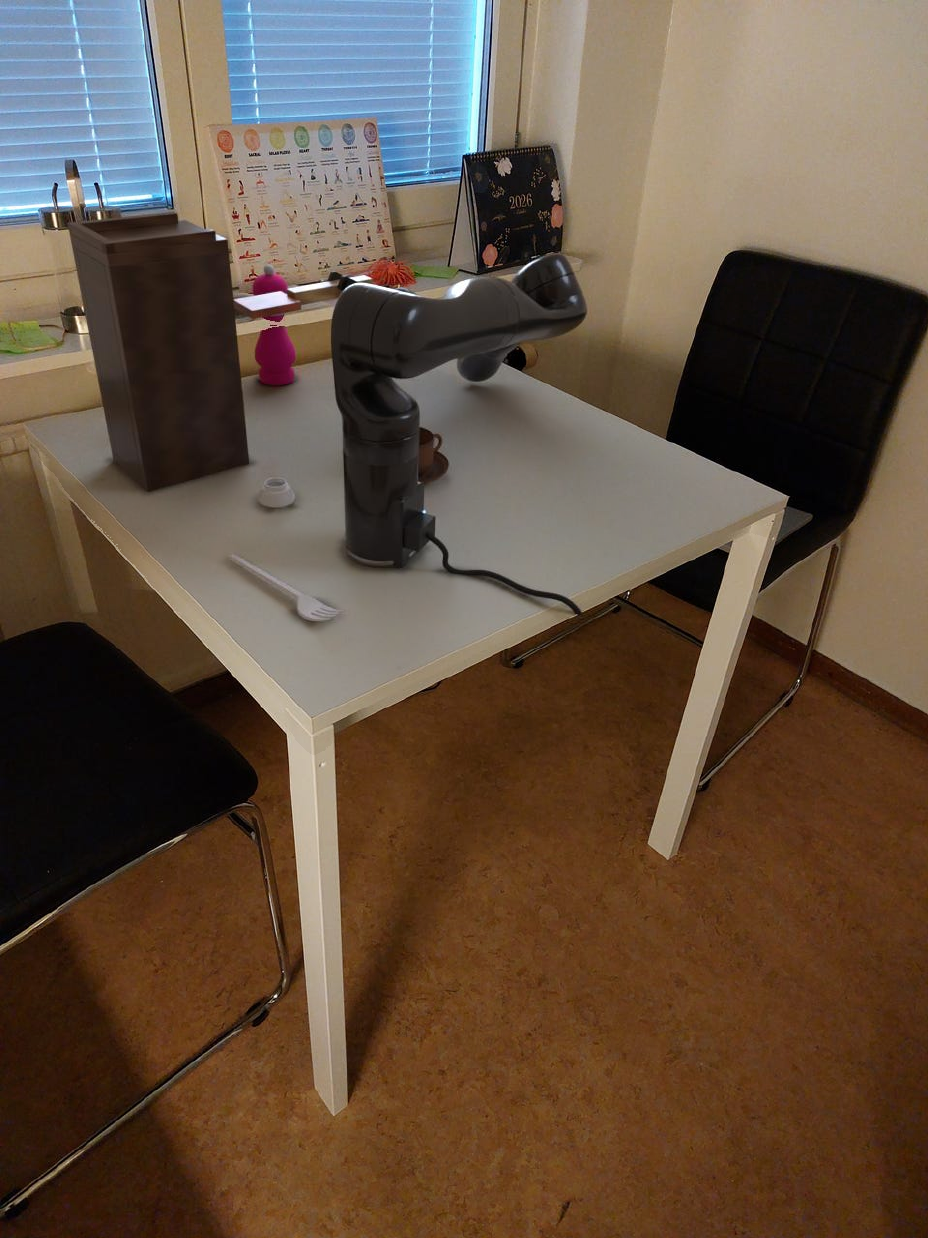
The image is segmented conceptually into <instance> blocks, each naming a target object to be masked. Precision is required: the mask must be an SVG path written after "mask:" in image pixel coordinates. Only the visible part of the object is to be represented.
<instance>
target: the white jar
mask: <svg viewBox="0 0 928 1238" xmlns="http://www.w3.org/2000/svg"><path fill="white" fill-rule="evenodd" d="M263 483H264V484H263V485H262V486H261V489H260V491H259V493H258V496H257V500H258V502H259V504H261V505H262V506H265V507H267V508H268V507H269V508H283V507H287V506H289V505H291V504H292V503H293V502H294V501H295V499H296V494H295V493H294V491H293V489H292V488H291V486H290V485H289V484H288V483H287V480H286V479H284V478H282V477H270V478H267V479H265V480H264V482H263Z"/></svg>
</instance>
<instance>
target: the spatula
mask: <svg viewBox="0 0 928 1238" xmlns="http://www.w3.org/2000/svg"><path fill="white" fill-rule="evenodd" d="M350 278H351V279H353V280H355V281H357V282H359V283H368V284H373V285H374V279H373V278H372V277H369V276H367V275H365V274H363V275H357V276H352V277H350ZM339 281H340V279H339V280H334V281H328V282H327V281H323V282H316V283H311V284H306V285H301V286H295V287H290V288H289V287H288V289H287V294H285V293H283V292H281V291H279V292H273V293H268V294H262V295H257V296H254V295H252V296H245V297H240V298H235V299H234V298H233V300H234V310H237V311H239V312H240V313H242V314H243V315H245V316H247V317H248V318H250V319H252V320H255V319H261V317H267V316H272V315H277V314H282V313H285V314H286V313H292V312H297V311H301V310H302V306H304V305H309V304H310V305H311V304H316V303H320V302H321V303H322V302H326V301H332V300H338V298H339V296H340V295H341V293H342V292H343V291H341V290H339V289H338V283H339Z"/></svg>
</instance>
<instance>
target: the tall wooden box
mask: <svg viewBox="0 0 928 1238" xmlns="http://www.w3.org/2000/svg"><path fill="white" fill-rule="evenodd" d="M67 228H68V234H69V237H70V244H71V248H72V253H73V259H74V264H75V269H76V274H77V280H78V285H79V289H80V295H81V299H82V304H83V310H84V316H85V320H86V327H87V331H88V335H89V340H90V347H91V352H92V356H93V361H94V367H95V373H96V377H97V382H98V387H99V392H100V398H101V403H102V407H103V413H104V418H105V423H106V424H105V425H106V429H107V434H108V439H109V445H110V449H111V456H112V458H113V462H115V464H117V465H118V466H119V467H120V468H121V469H122V470H123V471H124V472H125V473H127V475H129V476H130V477H131V478H132V479H134V481H136V482H137V483H138V484H139V485H140V486H141V487H142V488H144V490H145V491H146V492H148V493H150V492H153V491H156V490H159V489H164V488H167V487H171V486H174V485H178V484H181V483H185V482H189V481H192V480H196V479H199V478H203V477H205V476H210V475H214V474H217V473H220V472H223V471H227V470H231V469H235V468H238V467H241V466H245V465H249V464H250V456H249V455H250V454H249V446H248V436H247V435H248V433H247V424H246V413H245V404H244V394H243V382H242V375H241V374H242V373H241V363H240V352H239V343H238V341H239V340H238V332H237V322H236V321H237V320H236V312H235V311H236V309H235V308H234V291H233V281H232V280H233V279H232V270H231V260H230V259H231V258H230V249H229V239H227V238H226V237H223V236H221V235H219V234H217V233H216V230H215V229H213V228H207V229H206V228H204V227H202V226H199V225H197V224H195V223H193V222H191V221H189V220H186V219H183V220H179V215H178V213H177V212H175V211H168V212H157V213H149V214H139V215H130V216H120V217H110V218H101V219H90V220H80V221H72V222H67Z"/></svg>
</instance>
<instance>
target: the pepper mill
mask: <svg viewBox="0 0 928 1238" xmlns="http://www.w3.org/2000/svg"><path fill="white" fill-rule="evenodd" d="M287 289H289V287H288V283H287V282H286V280H285V279H284V278H283V277H282V276H280V275H279V274H276V273H275V268H274V266H273V265H272V264H265V265H264V267H263V273H262V274H260V275H258V276H257V277H256V278H255V279H254V280H253V284H252V296H257V295H262V294H268V293H273V292H279V291H281V292H283V293H285V294H287ZM285 315H286V313H282V314H277V315H272V316H267V317H262V318H264V319H266V320H270V321H275V322H280V321H281V320H282V319H283V317H284V318H285ZM270 326H277V325H270ZM296 359H297V353H296V349H295V346H294V343H293V342H292V340H291V338H290V336H289V333H288V330H287V328H286V325H285V326H279V327H272V328H268V329H266V330H262V331H261V330H260V332H259V335H258V339H257V341H256V344H255V348H254V360H255V362H256V364H257V365H258V366H259V367H260V368H259V369H258V378H259V381H260V382H261V383H262V384H265V385H269V386H284V385H285V386H286V385H289V384H291V383H293V382H294V381H295V369H294V368H293V365H294V363H295V361H296Z"/></svg>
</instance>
